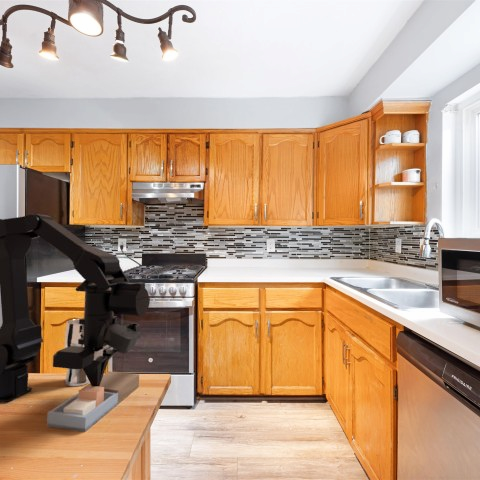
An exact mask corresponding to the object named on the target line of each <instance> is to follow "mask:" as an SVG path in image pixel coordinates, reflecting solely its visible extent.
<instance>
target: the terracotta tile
mask: <svg viewBox="0 0 480 480" xmlns="http://www.w3.org/2000/svg"><path fill="white" fill-rule="evenodd" d="M78 393H79V396H78V398H80V399H89V400H96V407H97V406H98V405H100V404H101V403H102V402H104V387H97V386H88V384H86V385H85V386H84V387H82V388H80V389H78Z"/></svg>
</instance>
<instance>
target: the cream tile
mask: <svg viewBox="0 0 480 480" xmlns="http://www.w3.org/2000/svg"><path fill="white" fill-rule="evenodd" d="M94 408H96V400H89V399H80V398H78V399H76V400H75V401H73V402H72V403H70V404H69V405H67V406H66V407H64V411H63V413H69V414H76V415H84V416H85V415H87V414H88V413H89V412H91V411H92V410H93V409H94Z"/></svg>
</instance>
